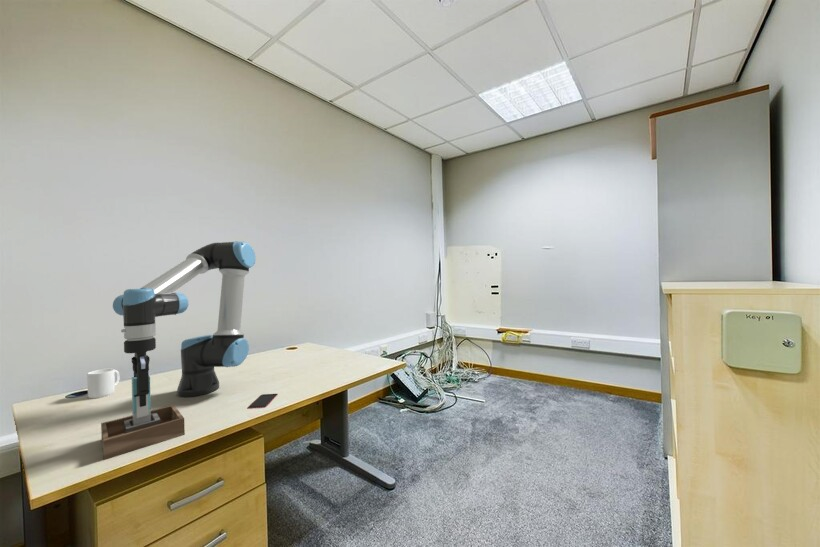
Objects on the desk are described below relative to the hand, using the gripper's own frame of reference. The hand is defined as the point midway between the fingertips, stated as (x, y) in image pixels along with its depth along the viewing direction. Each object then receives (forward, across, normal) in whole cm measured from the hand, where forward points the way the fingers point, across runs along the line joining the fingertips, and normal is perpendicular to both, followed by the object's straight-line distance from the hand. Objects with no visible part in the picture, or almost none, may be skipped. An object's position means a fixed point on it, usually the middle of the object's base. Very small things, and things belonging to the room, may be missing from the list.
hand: (141, 414), depth 99 cm
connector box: (+7, +2, 0) cm, 7 cm away
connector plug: (+3, 0, 0) cm, 3 cm away
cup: (+7, -62, -6) cm, 63 cm away
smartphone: (+7, +1, +36) cm, 37 cm away
